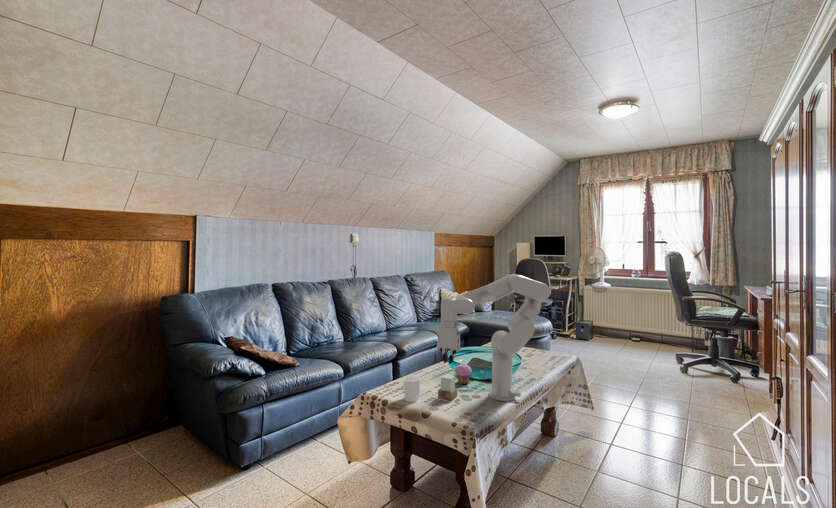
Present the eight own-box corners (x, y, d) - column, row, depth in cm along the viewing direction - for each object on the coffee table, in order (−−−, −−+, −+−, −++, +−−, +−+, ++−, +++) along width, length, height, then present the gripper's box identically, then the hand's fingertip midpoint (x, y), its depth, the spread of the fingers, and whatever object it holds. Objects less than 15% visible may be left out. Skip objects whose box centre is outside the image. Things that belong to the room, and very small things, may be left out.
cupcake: (458, 386, 202) (458, 367, 202) (452, 381, 211) (452, 362, 211) (474, 385, 205) (474, 366, 205) (467, 379, 213) (467, 361, 213)
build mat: (469, 397, 187) (469, 396, 187) (461, 406, 177) (461, 405, 176) (435, 391, 195) (435, 390, 195) (425, 399, 185) (425, 398, 185)
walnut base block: (457, 396, 187) (457, 388, 187) (451, 401, 181) (451, 392, 181) (443, 393, 191) (443, 385, 191) (437, 398, 184) (438, 390, 184)
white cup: (418, 404, 179) (418, 382, 179) (401, 402, 180) (401, 381, 180) (421, 397, 186) (421, 376, 186) (405, 396, 188) (405, 375, 188)
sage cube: (454, 388, 187) (454, 375, 187) (450, 391, 182) (451, 378, 182) (444, 386, 189) (445, 374, 189) (440, 389, 185) (441, 377, 185)
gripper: (467, 324, 185) (466, 363, 185) (436, 321, 192) (436, 358, 193) (461, 327, 179) (461, 367, 179) (430, 323, 186) (429, 362, 186)
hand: (448, 362), depth 186 cm, fingers closed
